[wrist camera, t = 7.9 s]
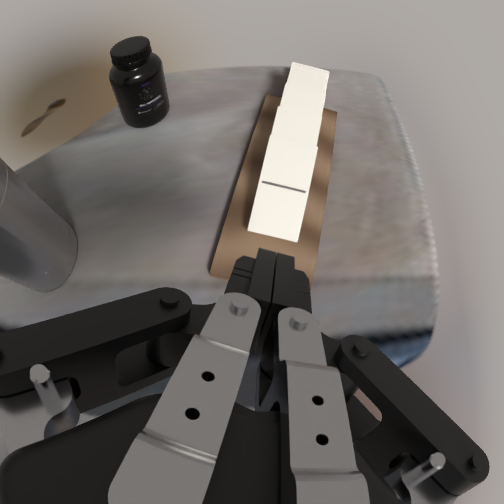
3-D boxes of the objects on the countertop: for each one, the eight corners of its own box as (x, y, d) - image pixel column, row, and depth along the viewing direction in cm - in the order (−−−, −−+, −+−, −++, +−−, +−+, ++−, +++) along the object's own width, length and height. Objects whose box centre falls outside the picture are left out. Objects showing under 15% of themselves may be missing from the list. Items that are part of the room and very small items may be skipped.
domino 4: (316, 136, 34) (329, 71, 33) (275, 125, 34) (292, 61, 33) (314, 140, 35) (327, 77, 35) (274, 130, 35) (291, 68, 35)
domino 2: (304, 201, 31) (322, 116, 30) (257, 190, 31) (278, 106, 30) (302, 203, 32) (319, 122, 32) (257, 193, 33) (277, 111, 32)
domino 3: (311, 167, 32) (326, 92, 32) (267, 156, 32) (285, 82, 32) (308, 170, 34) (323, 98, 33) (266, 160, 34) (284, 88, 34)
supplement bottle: (157, 133, 36) (137, 63, 25) (115, 126, 36) (89, 62, 25) (178, 99, 38) (167, 32, 27) (138, 94, 39) (121, 32, 27)
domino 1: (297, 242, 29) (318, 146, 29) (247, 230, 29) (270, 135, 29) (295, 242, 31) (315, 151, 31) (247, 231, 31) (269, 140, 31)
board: (305, 300, 30) (308, 298, 29) (210, 276, 31) (209, 273, 29) (334, 117, 39) (337, 112, 37) (266, 100, 39) (266, 94, 38)
